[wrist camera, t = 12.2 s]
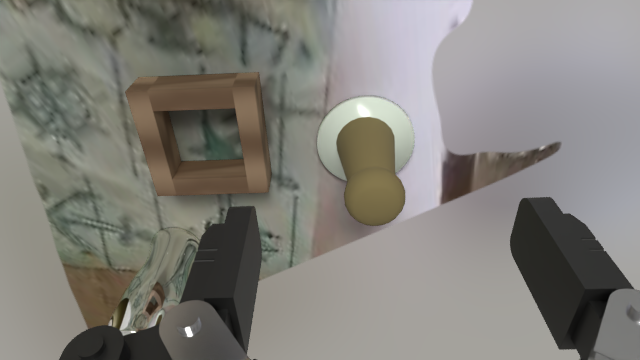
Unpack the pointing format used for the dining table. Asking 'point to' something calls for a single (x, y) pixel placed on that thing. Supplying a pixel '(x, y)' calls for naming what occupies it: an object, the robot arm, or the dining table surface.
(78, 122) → the dining table surface
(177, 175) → the frame
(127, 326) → the beer glass
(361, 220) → the olive pawn
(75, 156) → the dining table surface
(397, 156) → the coaster
